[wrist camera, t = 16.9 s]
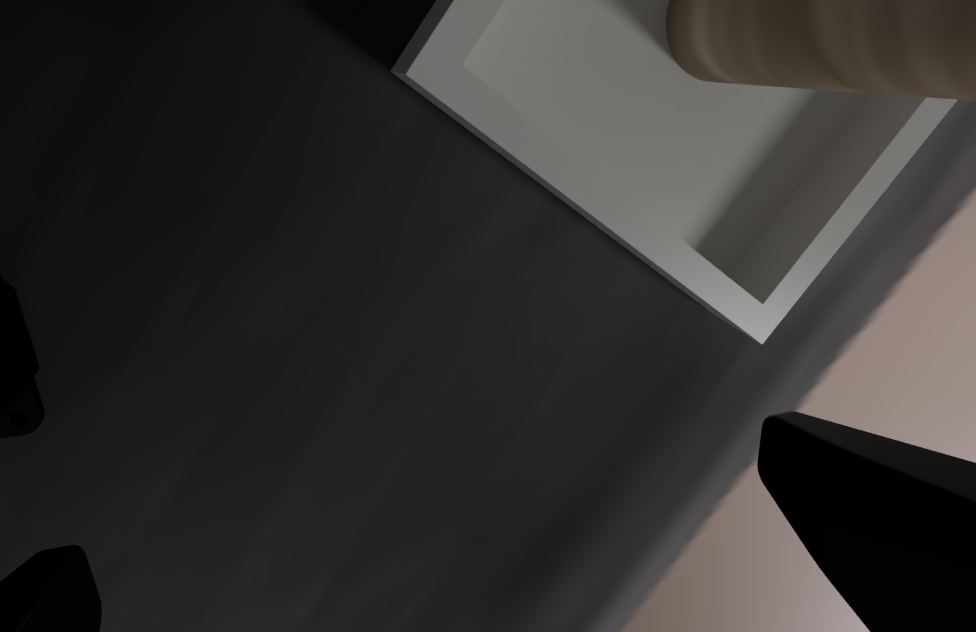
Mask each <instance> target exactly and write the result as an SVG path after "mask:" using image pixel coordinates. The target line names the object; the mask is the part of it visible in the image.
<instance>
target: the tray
mask: <svg viewBox="0 0 976 632" xmlns="http://www.w3.org/2000/svg"><path fill="white" fill-rule="evenodd" d="M668 4H669V0H436V1H435V3H434V4H433V6H432V7H431V9H430V11H429V12H428V14H427V15H426V17H425V18H424V20H423V21H422V23H421V24H420V26H419V28H418V29H417V31H416V32H415V34H414V35H413V37H412V38H411V40H410V41H409V43H408V45H407V46H406V48H405V49H404V51H403V52H402V54H401V55H400V57H399V58H398V60H397V62H396V63H395V65H394V66H393V68H392V69H391V72H392V73H393V74H395V75H396V76H397V77H399V78H400V79H401V80H403V81H404V82H405V83H407V84H408V85H409V86H411V87H412V88H413V89H415V90H416V91H417V92H419V93H420V94H421V95H422V96H424V97H425V98H426V99H428V100H429V101H430V102H432V103H433V104H434V105H436V106H437V107H438V108H440V109H441V110H442V111H444V112H445V113H446V114H448V115H449V116H450V117H452V118H453V119H454V120H456V121H457V122H458V123H460V124H461V125H462V126H464V127H465V128H466V129H468V130H469V131H470V132H472V133H473V134H474V135H476V136H477V137H478V138H480V139H481V140H482V141H484V142H485V143H486V144H488V145H489V146H490V147H492V148H493V149H494V150H496V151H497V152H498V153H500V154H501V155H502V156H504V157H505V158H506V159H508V160H509V161H510V162H512V163H513V164H514V165H516V166H517V167H518V168H520V169H521V170H522V171H524V172H525V173H526V174H528V175H529V176H530V177H532V178H533V179H534V180H536V181H537V182H538V183H540V184H541V185H542V186H544V187H545V188H546V189H548V190H549V191H550V192H552V193H553V194H554V195H556V196H557V197H558V198H560V199H561V200H562V201H563V202H565V203H566V204H567V205H569V206H570V207H571V208H573V209H574V210H575V211H577V212H578V213H579V214H581V215H582V216H583V217H585V218H586V219H587V220H589V221H590V222H591V223H593V224H594V225H595V226H597V227H598V228H599V229H601V230H602V231H603V232H605V233H606V234H607V235H609V236H610V237H611V238H613V239H614V240H615V241H617V242H618V243H619V244H621V245H622V246H623V247H625V248H626V249H627V250H629V251H630V252H631V253H633V254H634V255H635V256H637V257H638V258H639V259H641V260H642V261H643V262H645V263H646V264H647V265H649V266H650V267H651V268H653V269H654V270H655V271H657V272H658V273H659V274H661V275H662V276H663V277H665V278H666V279H667V280H669V281H670V282H671V283H673V284H674V285H675V286H677V287H678V288H679V289H681V290H682V291H683V292H685V293H686V294H687V295H689V296H690V297H691V298H693V299H694V300H695V301H697V302H698V303H699V304H700V305H702V306H703V307H704V308H706V309H707V310H708V311H710V312H711V313H713V314H714V315H716V316H718V317H719V318H721V319H722V320H724V321H725V322H727V323H729V324H730V325H732V326H733V327H735V328H737V329H738V330H740V331H741V332H743V333H745V334H746V335H748V336H749V337H751V338H753V339H754V340H756V341H757V342H759V343H761V344H763V343H764V341H765V340H766V339H767V338H768V336H769V335H770V334H771V333H772V331H773V330H774V329H775V328H776V326H777V325H778V324H779V323H780V321H781V320H782V319H783V318H784V316H785V315H786V314H787V313H788V311H789V310H790V309H791V308H792V306H793V305H794V304H795V303H796V301H797V300H798V299H799V298H800V296H801V295H802V294H803V293H804V291H805V290H806V289H807V288H808V286H809V285H810V284H811V283H812V281H813V280H814V279H815V278H816V276H817V275H818V274H819V273H820V271H821V270H822V269H823V268H824V266H825V265H826V264H827V263H828V261H829V260H830V259H831V258H832V256H833V255H834V254H835V253H836V251H837V250H838V249H839V248H840V246H841V245H842V244H843V243H844V241H845V240H846V239H847V237H848V236H849V235H850V234H851V232H852V231H853V230H854V229H855V227H856V226H857V225H858V224H859V222H860V221H861V220H862V219H863V217H864V216H865V215H866V214H867V212H868V211H869V210H870V209H871V207H872V206H873V205H874V204H875V202H876V201H877V200H878V199H879V197H880V196H881V195H882V194H883V192H884V191H885V190H886V189H887V187H888V186H889V185H890V184H891V182H892V181H893V180H894V179H895V177H896V176H897V175H898V174H899V172H900V171H901V170H902V169H903V167H904V166H905V165H906V164H907V162H908V161H909V160H910V159H911V157H912V156H913V155H914V154H915V152H916V151H917V150H918V149H919V147H920V146H921V145H922V144H923V142H924V141H925V140H926V139H927V137H928V136H929V135H930V134H931V132H932V131H933V130H934V129H935V127H936V126H937V125H938V124H939V122H940V121H941V120H942V119H943V117H944V116H945V115H946V114H947V112H948V111H949V110H950V109H951V107H952V106H953V105H954V104H955V102H956V101H957V100H958V99H943V98H929V97H915V96H901V95H886V94H872V93H858V92H844V91H830V90H815V89H801V88H787V87H773V86H759V85H744V84H730V83H716V82H706V81H702V80H698V79H696V78H694V77H692V76H691V75H689V74H688V73H686V72H685V71H684V70H683V69H682V68H681V67H680V66H679V64H678V63H677V62H676V60H675V58H674V57H673V55H672V52H671V50H670V47H669V44H668V40H667V34H666V14H667V9H668Z"/></svg>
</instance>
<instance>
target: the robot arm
mask: <svg viewBox="0 0 976 632" xmlns="http://www.w3.org/2000/svg"><path fill="white" fill-rule="evenodd" d="M38 370H39V363H38V360H37V357H36V354H35V351H34V348H33V344H32V341H31V338H30V335H29V332H28V329H27V326H26V323H25V319H24V316H23V313H22V310H21V307H20V304H19V301H18V298H17V294H16V291H15V289H14V287H13V286H11V285H10V284H9V283H7V282H6V281H4V280H2V278H1V275H0V438H6V437H13V436H19V435H26V434H29V433H32V432H33V431H35V430H36V429H37V428H38V427H39V425H40V424H41V422H42V421H43V419H44V416H45V412H44V407H43V404H42V401H41V398H40V395H39V392H38V389H37V386H36V383H35V379H34V375H35V374H36V372H37V371H38ZM17 411H20V412H24V413H26V414H28V415H29V417H30V420H21V419H19V418H17V416H16V415H15V412H17ZM757 465H758V472H759V475H760V478H761V480H762V482H763V484H764V485H765V487H766V488H767V490H768V491H769V493H770V494H771V496H772V497H773V499H774V500H775V502H776V504H777V505H778V507H779V508H780V510H781V511H782V513H783V514H784V516H785V517H786V519H787V520H788V522H789V523H790V524H791V526H792V528H793V529H794V531H795V532H796V534H797V535H798V537H799V538H800V540H801V541H802V543H803V544H804V546H805V547H806V549H807V550H808V552H809V554H810V555H811V556H812V558H813V559H814V561H815V562H816V563H817V565H818V566H819V568H820V569H821V570H822V571H823V573H824V574H825V576H826V577H827V578H828V580H829V581H830V582H831V584H832V585H833V586H834V587H835V588H836V590H837V591H838V592H839V593H840V595H841V596H842V597H843V598H844V600H845V601H846V602H847V603H848V604H849V606H850V607H851V608H852V609H853V611H854V612H855V613H856V615H857V616H858V617H859V618H860V620H861V621H862V622H863V623H864V624H865V626H866V627H867V628H868V629H869V631H870V632H976V463H974V462H971V461H967V460H964V459H960V458H957V457H953V456H950V455H946V454H943V453H939V452H936V451H932V450H928V449H925V448H922V447H918V446H914V445H911V444H907V443H904V442H900V441H897V440H893V439H890V438H886V437H883V436H879V435H876V434H872V433H869V432H865V431H862V430H858V429H855V428H851V427H848V426H844V425H841V424H837V423H834V422H830V421H827V420H823V419H820V418H816V417H813V416H809V415H805V414H802V413H799V412H785V413H779V414H774V415H770V416H768V417H767V418H766V419H765V420H764V422H763V425H762V431H761V439H760V447H759V455H758V464H757ZM101 616H102V609H101V600H100V596H99V593H98V590H97V587H96V584H95V581H94V578H93V575H92V572H91V569H90V566H89V563H88V560H87V557H86V554H85V552H84V551H83V549H82V548H81V547H79V546H77V545H69V546H64V547H58V548H53V549H48V550H43V551H40V552H38V553H36V554H35V555H34V556H32V557H31V558H30V559H28V560H27V561H26V562H25V563H23V564H22V565H21V566H20V567H18V568H17V569H16V570H15V571H13V572H12V573H11V574H10V575H8V576H7V577H6V578H5V579H3V580H2V581H1V582H0V632H99V630H100V624H101Z"/></svg>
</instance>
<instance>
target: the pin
mask: <svg viewBox="0 0 976 632" xmlns="http://www.w3.org/2000/svg"><path fill="white" fill-rule="evenodd" d="M666 34H667V40H668V44H669V47H670V50H671V52H672V55H673V57H674V58H675V60H676V62H677V63H678V64H679V66H680V67H681V68H682V69H683V70H684V71H685V72H686V73H688V74H689V75H691V76H692V77H694V78H696V79H698V80H702V81H706V82H716V83H730V84H744V85H759V86H773V87H787V88H801V89H815V90H830V91H844V92H858V93H872V94H886V95H901V96H915V97H929V98H943V99H958V100H972V101H976V0H669V4H668V9H667V14H666Z"/></svg>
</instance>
